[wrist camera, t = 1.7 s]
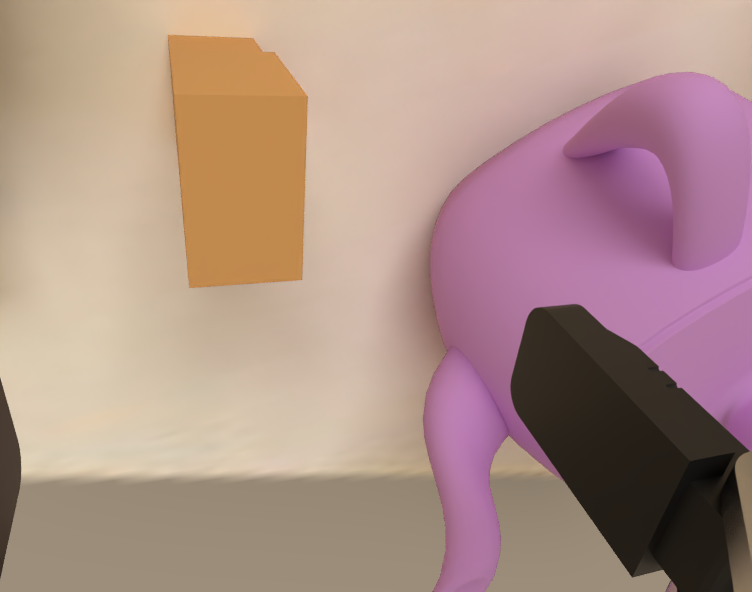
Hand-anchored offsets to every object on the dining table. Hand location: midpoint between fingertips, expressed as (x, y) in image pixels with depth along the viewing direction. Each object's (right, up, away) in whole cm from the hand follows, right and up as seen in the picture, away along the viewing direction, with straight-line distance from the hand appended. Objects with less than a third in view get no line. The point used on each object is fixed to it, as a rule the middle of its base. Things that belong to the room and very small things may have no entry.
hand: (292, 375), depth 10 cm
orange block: (-5, +9, +14) cm, 17 cm away
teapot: (+11, +4, +23) cm, 26 cm away
